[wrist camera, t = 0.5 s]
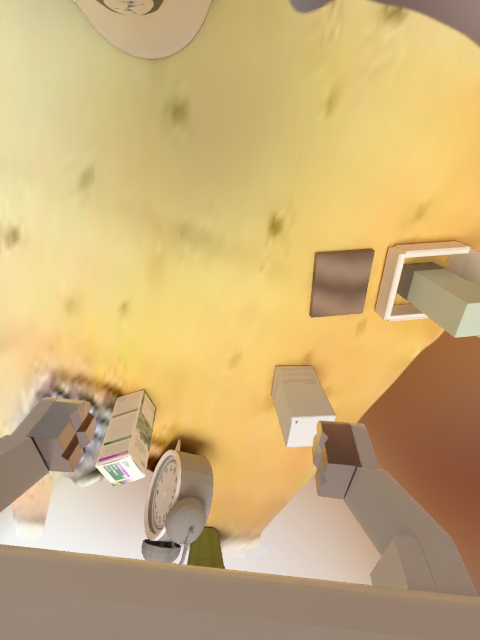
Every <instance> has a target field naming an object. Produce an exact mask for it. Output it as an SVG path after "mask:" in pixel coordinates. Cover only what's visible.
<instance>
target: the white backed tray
mask: <svg viewBox="0 0 480 640" xmlns="http://www.w3.org/2000/svg"><path fill="white" fill-rule="evenodd" d="M436 255H449V258H448V261H447V264H446V267H445V269H447V270H448V271H450V272H452V273H454V274H456V275H458V276H460V277H462V278H464V279H465V280H467V281H469V282H471V283H473V284H475V285H477V286H479V287H480V251H477V250H475V249H472V248H471V247H470V246H468V245H465V244H463V243H460V242H458V241H449V242H434V243H420V244H405V245H395V247H389V249H388V254H387V258H386V263H385V267H384V272H383V277H382V281H381V286H380V290H379V295H378V300H377V304H376V309H375V312H376V313H377V314H378V315H379V316H380V317H381V318H382V319H383V320H388V321H401V320H412V319H424V318H429V317H428V316H426V315H425V314H424V313H423V312H421V311H420V310H419V309H417V308H416V307H415V306H414V305H412V304H403V305H393V304H394V299H395V295H396V291H397V287H398V283H399V279H400V275H401V271H402V267H403V263H404V259H405V258H408V257H422V256H436ZM476 336H478V337H479V338H480V335H476Z"/></svg>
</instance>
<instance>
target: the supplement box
mask: <svg viewBox="0 0 480 640" xmlns="http://www.w3.org/2000/svg"><path fill="white" fill-rule="evenodd" d="M271 395H272V398H273V402H274V405H275V409H276V412H277V416H278V419H279V423H280V427H281V430H282V434H283V437H284V441H285V444H286V447H302V446H313V439H314V436H315V435H316V434H317V429H316V426H317V423H318V421H319V420H320V421H335V418H336V414H335V412H334V410H333V408H332V406H331V404H330V402H329V400H328V398H327V396H326V394H325V392H324V390H323V388H322V386H321V384H320V382H319V380H318V378H317V376H316V374H315V372H314V370H313V368H312V366H276V368H275V374H274V380H273V386H272V392H271Z"/></svg>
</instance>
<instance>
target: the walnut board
mask: <svg viewBox="0 0 480 640" xmlns="http://www.w3.org/2000/svg"><path fill="white" fill-rule="evenodd" d="M373 256H374V250H373V249H362V250H347V251H333V252H318V253H315V261H314V272H313V282H312V293H311V304H310V316H311V318H312V317H324V316H336V315H348V314H360V313H363V308H364V303H365V298H366V293H367V287H368V282H369V277H370V272H371V267H372V262H373Z"/></svg>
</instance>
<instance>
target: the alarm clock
mask: <svg viewBox="0 0 480 640" xmlns="http://www.w3.org/2000/svg"><path fill="white" fill-rule="evenodd" d="M212 495H213V474H212V468H211V465H210V463H209V461H208V459H207V458H206V457H204V456H200V455H195V454H190V453H185V452H180V440H178V443H177V446H176V448H175V450H171V449H170V450H168V451H166V452H165V453H164V454H163V456H162V457H161V459H160V460H159V462H158V464H157V466H156V468H155V470H154V473H153V476H152V478H151V482H150V485H149V489H148V493H147V498H146V505H145V515H144V524H145V532H146V535H147V537H148V538H149V539H145V540H143V543H142V554H143V556H144V558H145V560H148V561H157V562H166V563H172V562H173V561H174V560H175V559H176V558H177V557H178V555H179V553H180V549H181V546H180V545H179V544H185V545H184V551H183V555H182V559H181V561H180V563H179V564H183V562H184V559H185V555H186V550H187V545H188V543H192V542H193V541H194V540H196V539H197V538H198V536H199V535H200V534H201V532H202V530H203V528H204V527H205V524H206V521H207V518H208V515H209V512H210V507H211V502H212ZM177 543H178V544H177Z"/></svg>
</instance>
